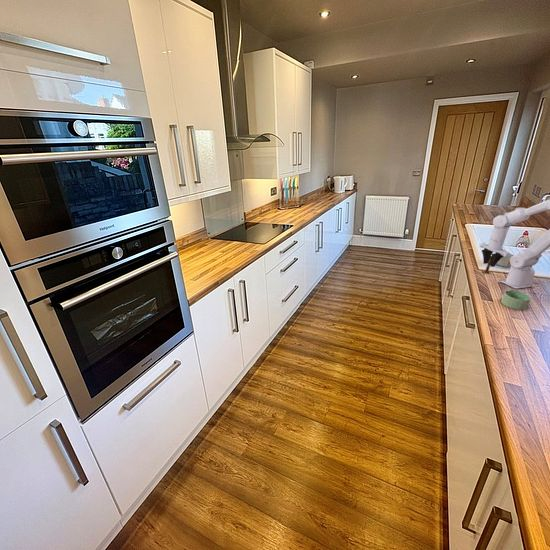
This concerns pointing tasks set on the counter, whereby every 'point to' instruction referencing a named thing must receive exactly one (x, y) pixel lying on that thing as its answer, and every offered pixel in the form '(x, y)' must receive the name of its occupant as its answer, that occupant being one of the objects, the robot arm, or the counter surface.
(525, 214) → the robot arm
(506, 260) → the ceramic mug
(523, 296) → the bowl
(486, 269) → the muddler
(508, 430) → the counter surface
